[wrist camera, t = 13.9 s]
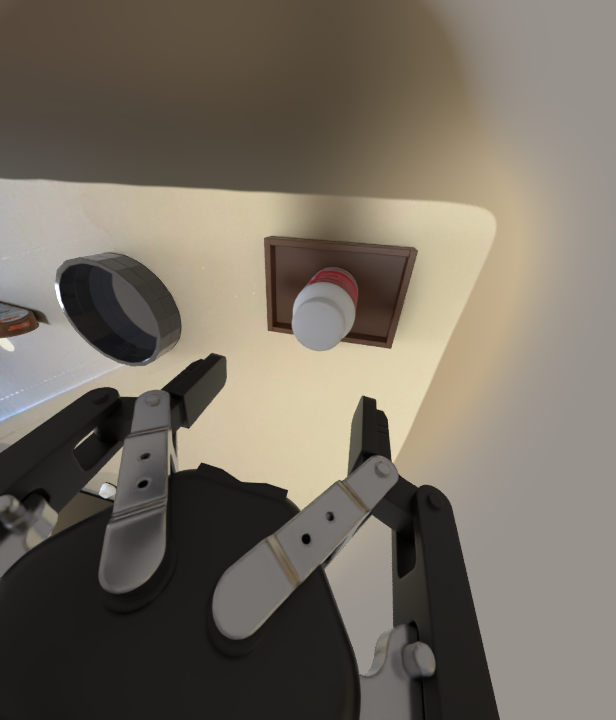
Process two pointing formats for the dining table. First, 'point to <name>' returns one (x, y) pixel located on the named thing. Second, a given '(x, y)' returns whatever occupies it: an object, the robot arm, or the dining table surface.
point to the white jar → (107, 490)
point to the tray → (363, 261)
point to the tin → (16, 321)
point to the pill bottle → (325, 309)
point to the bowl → (118, 307)
